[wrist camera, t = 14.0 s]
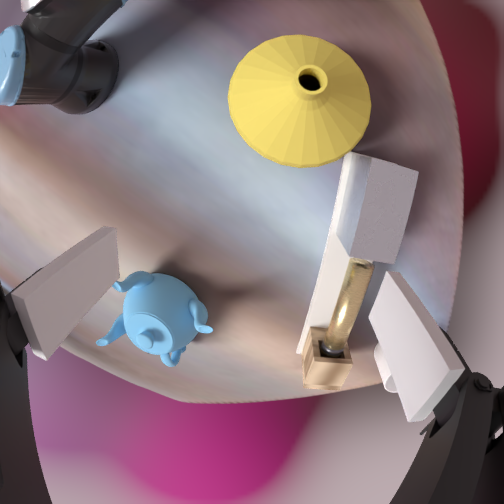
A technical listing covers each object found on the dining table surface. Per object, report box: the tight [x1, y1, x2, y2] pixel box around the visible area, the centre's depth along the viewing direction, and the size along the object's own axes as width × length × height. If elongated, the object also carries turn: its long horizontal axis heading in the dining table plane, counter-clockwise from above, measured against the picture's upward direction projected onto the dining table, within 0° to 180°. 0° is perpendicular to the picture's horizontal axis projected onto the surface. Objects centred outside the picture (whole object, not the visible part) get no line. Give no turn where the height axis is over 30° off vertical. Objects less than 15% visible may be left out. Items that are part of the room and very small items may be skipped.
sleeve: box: [336, 154, 419, 264], centre depth 37 cm, size 7×13×10 cm, turn 172°
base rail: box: [296, 152, 397, 354], centre depth 47 cm, size 9×40×1 cm, turn 172°
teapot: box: [96, 271, 213, 367], centre depth 48 cm, size 17×19×12 cm
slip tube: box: [320, 258, 374, 359], centre depth 43 cm, size 20×4×4 cm, turn 172°
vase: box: [228, 35, 371, 168], centre depth 29 cm, size 18×18×19 cm
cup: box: [374, 342, 398, 392], centre depth 48 cm, size 8×12×10 cm
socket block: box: [301, 327, 353, 390], centre depth 49 cm, size 7×7×10 cm
